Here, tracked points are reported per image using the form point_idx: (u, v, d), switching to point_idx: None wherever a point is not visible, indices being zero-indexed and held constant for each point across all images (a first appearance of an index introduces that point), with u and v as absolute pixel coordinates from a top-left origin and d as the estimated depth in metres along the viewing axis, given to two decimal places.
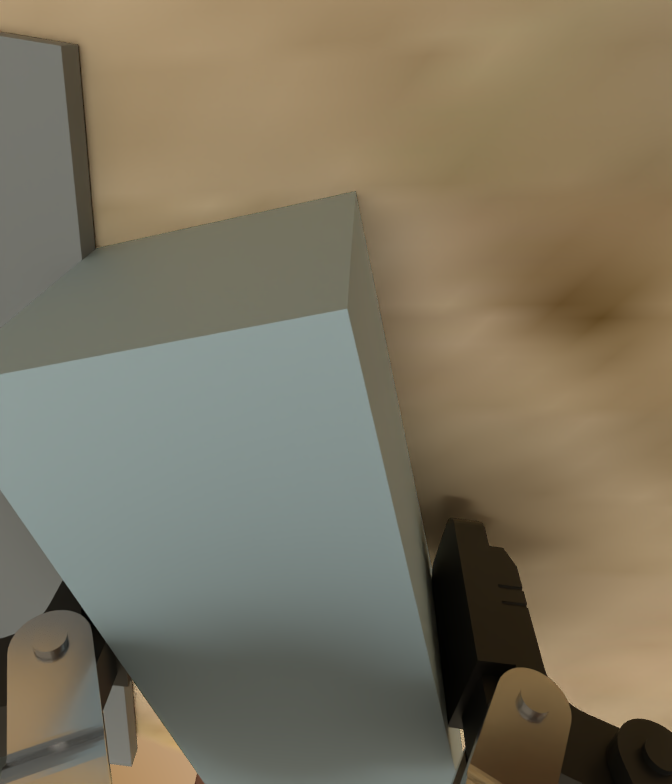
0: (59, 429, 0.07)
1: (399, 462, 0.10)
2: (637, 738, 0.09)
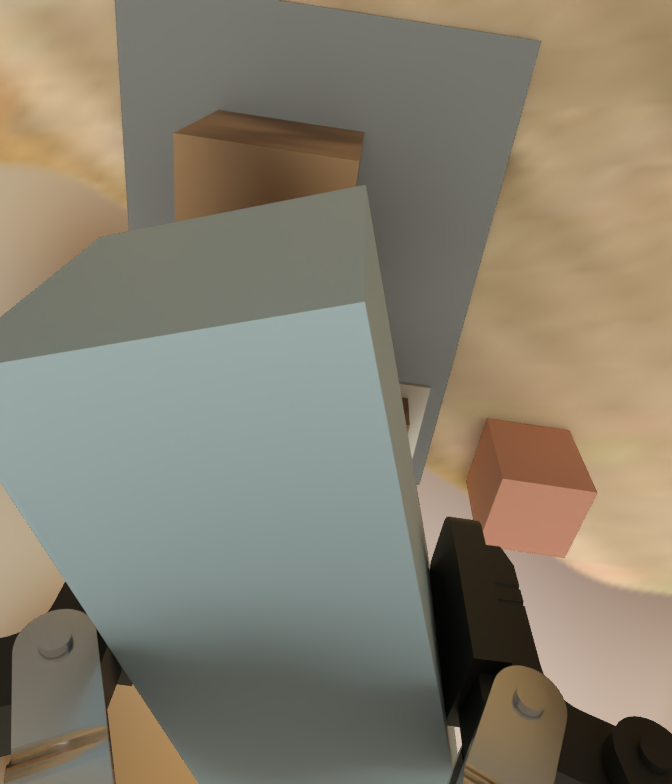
0: (62, 420, 0.07)
1: (405, 461, 0.10)
2: (632, 735, 0.09)
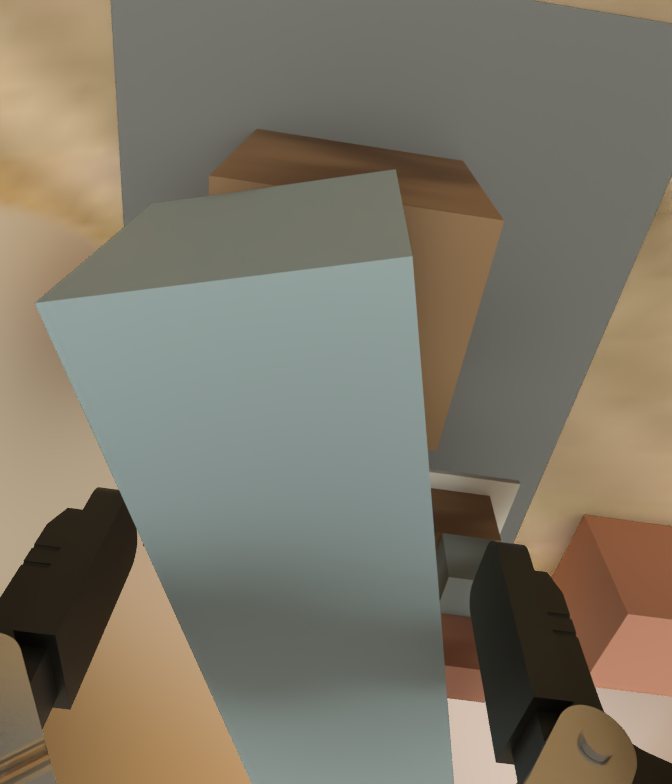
0: (143, 349, 0.08)
1: None
2: None
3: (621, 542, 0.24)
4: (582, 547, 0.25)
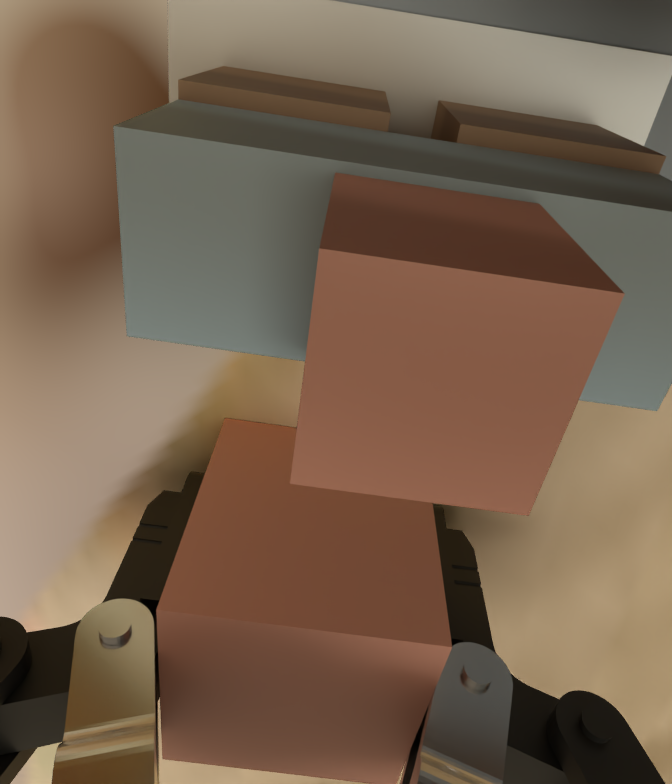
0: None
1: None
2: (575, 708, 0.09)
3: None
4: None
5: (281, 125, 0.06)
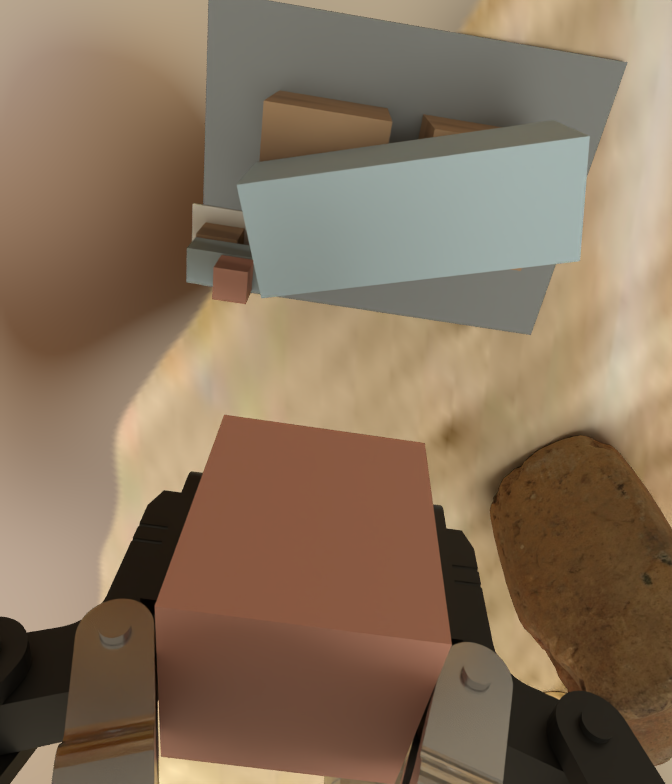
0: (565, 172, 0.23)
1: None
2: (575, 708, 0.09)
3: None
4: (381, 465, 0.12)
5: (215, 243, 0.33)
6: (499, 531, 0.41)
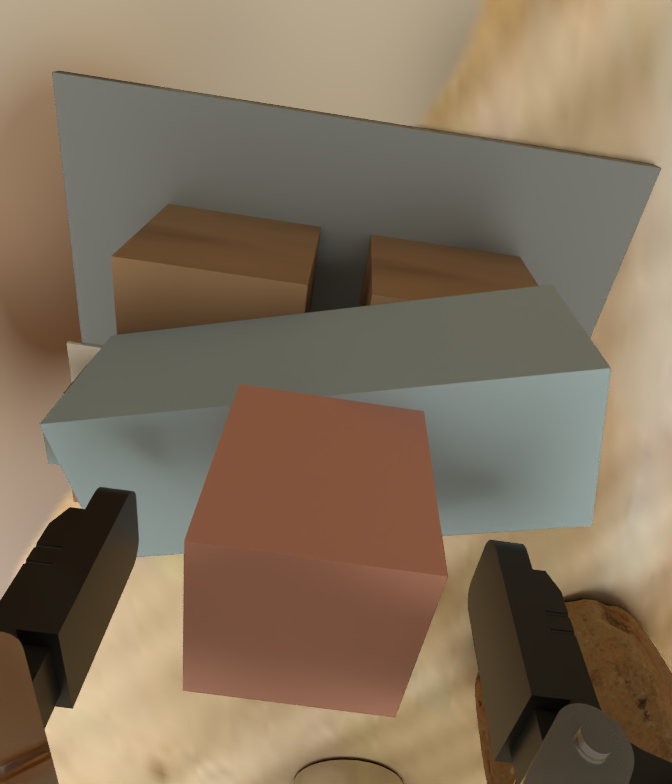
0: (569, 416, 0.14)
1: None
2: None
3: None
4: (384, 429, 0.13)
5: None
6: (485, 731, 0.32)
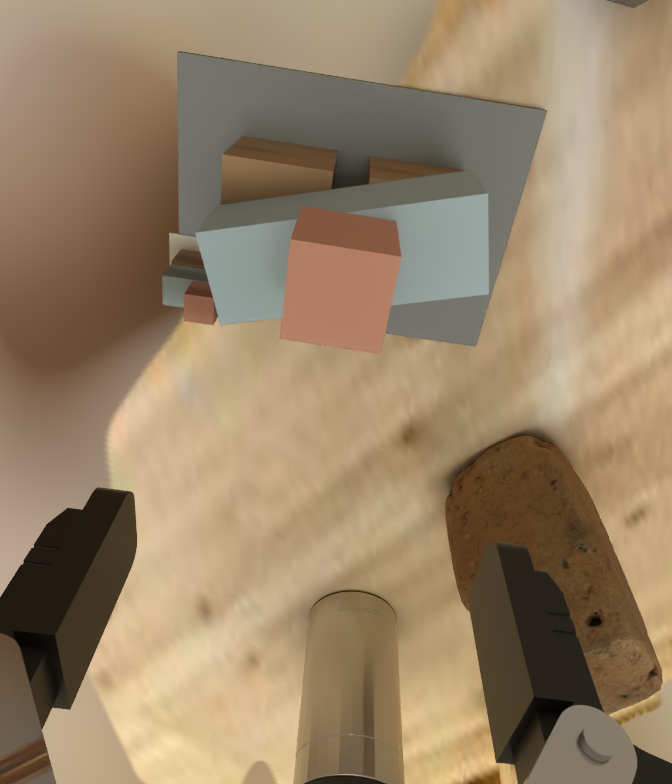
0: (470, 222, 0.28)
1: None
2: None
3: None
4: (375, 223, 0.27)
5: (187, 270, 0.38)
6: (450, 522, 0.46)
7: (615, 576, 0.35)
